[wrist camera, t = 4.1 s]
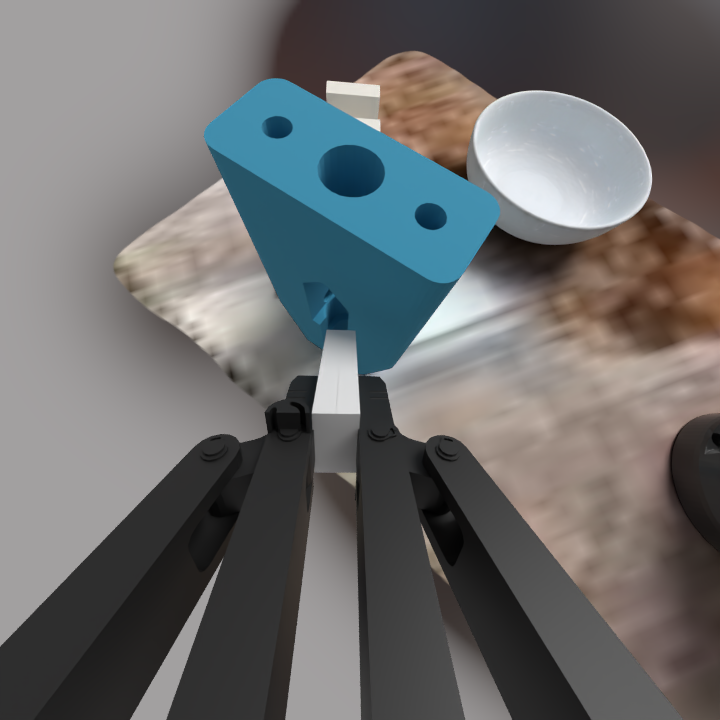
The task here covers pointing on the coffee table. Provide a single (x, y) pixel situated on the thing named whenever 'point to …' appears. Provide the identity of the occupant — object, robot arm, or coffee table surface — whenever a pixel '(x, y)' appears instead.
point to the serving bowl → (557, 167)
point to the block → (346, 218)
